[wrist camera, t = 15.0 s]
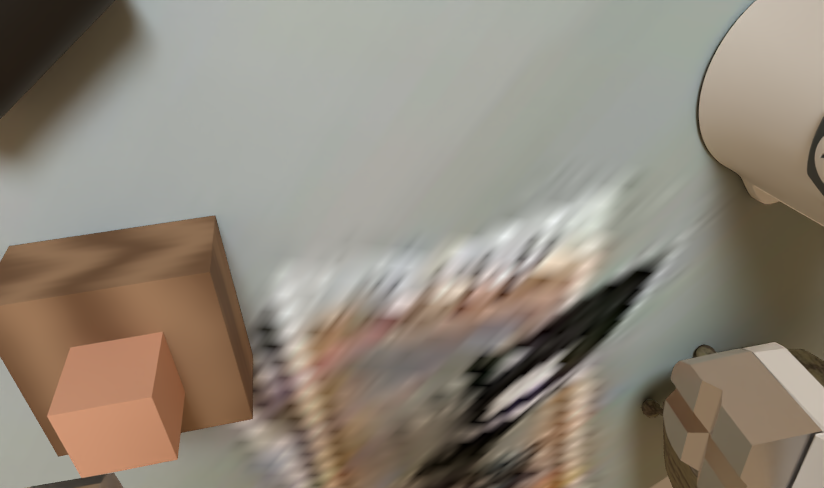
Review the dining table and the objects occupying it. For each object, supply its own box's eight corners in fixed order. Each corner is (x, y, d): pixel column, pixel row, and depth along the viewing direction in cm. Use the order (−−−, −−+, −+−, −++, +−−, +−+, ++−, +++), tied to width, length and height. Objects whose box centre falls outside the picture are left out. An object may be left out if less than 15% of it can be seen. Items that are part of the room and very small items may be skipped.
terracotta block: (162, 331, 36) (151, 396, 32) (185, 392, 39) (177, 459, 35) (70, 347, 36) (47, 416, 32) (99, 408, 38) (81, 478, 34)
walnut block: (215, 215, 40) (209, 271, 35) (252, 355, 46) (252, 418, 42) (9, 246, 38) (-27, 309, 33) (79, 386, 45) (58, 456, 40)
